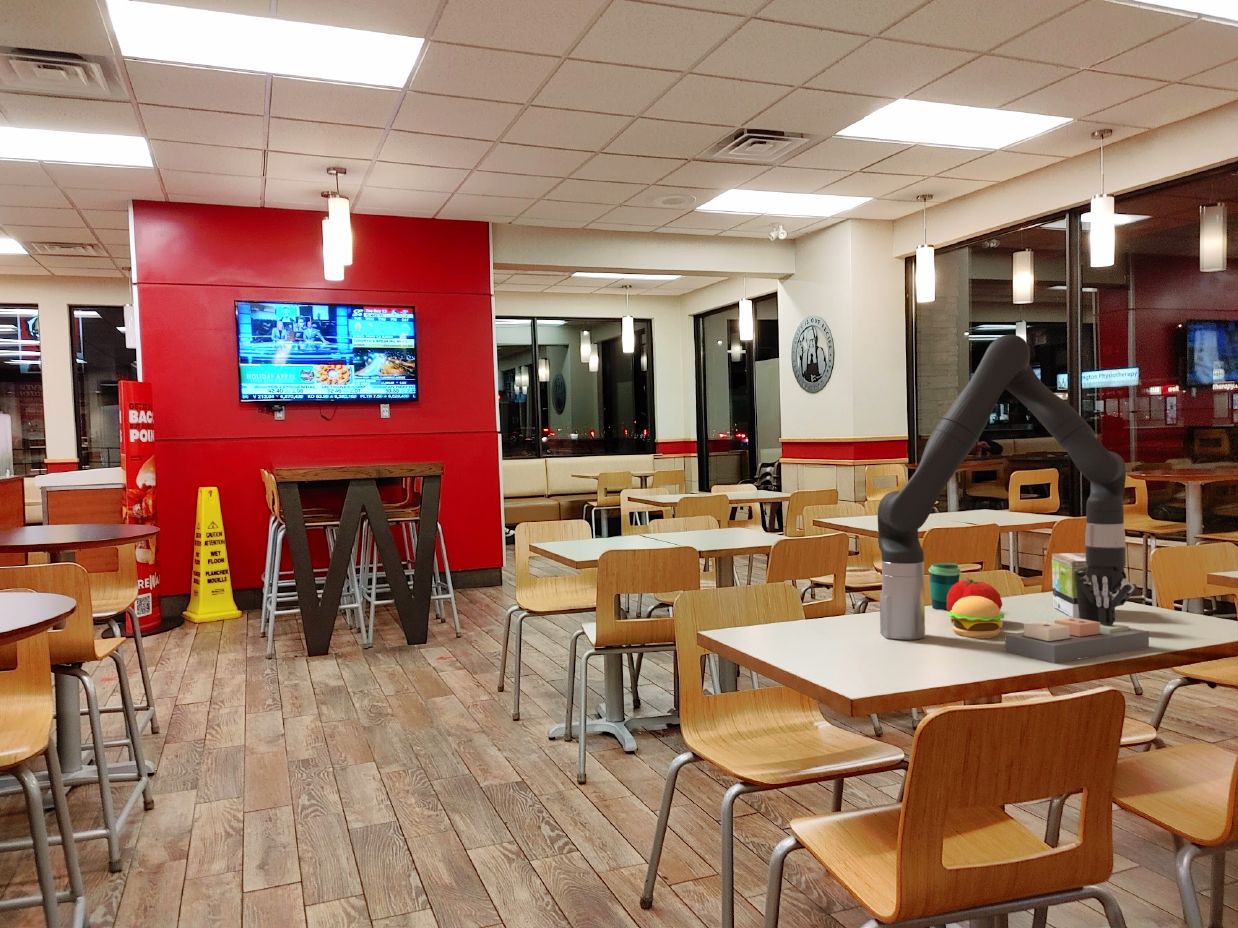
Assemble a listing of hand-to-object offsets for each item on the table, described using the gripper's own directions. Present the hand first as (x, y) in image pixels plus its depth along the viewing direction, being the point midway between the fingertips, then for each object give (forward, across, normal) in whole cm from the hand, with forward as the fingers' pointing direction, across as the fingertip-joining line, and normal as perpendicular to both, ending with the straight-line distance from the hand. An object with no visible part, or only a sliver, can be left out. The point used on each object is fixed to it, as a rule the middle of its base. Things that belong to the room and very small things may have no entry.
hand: (1106, 624), depth 189 cm
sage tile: (+3, 0, 0) cm, 3 cm away
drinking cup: (+5, +13, -12) cm, 18 cm away
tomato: (+5, +32, +5) cm, 32 cm away
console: (+4, 0, +9) cm, 10 cm away
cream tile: (+1, 0, +18) cm, 18 cm away
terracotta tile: (+1, 0, +9) cm, 9 cm away
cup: (+5, +49, -2) cm, 49 cm away
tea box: (+5, +27, -27) cm, 39 cm away
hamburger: (+5, +22, +15) cm, 27 cm away
